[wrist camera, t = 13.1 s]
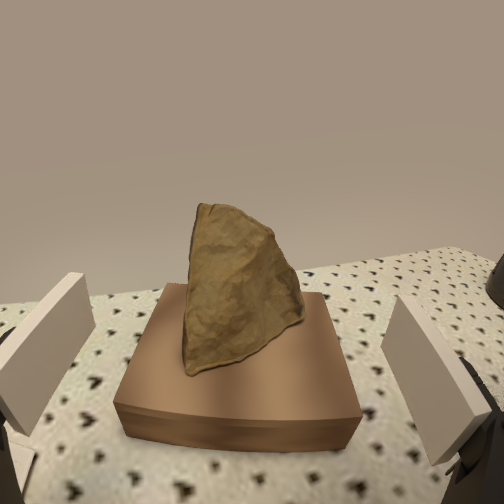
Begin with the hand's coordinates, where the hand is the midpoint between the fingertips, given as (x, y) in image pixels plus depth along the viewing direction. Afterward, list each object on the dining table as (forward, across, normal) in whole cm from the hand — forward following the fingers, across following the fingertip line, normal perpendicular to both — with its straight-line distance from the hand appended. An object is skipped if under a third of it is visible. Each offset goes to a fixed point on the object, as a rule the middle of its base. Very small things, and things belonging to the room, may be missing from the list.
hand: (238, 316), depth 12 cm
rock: (+8, +1, -8) cm, 12 cm away
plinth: (+8, 0, -12) cm, 14 cm away
